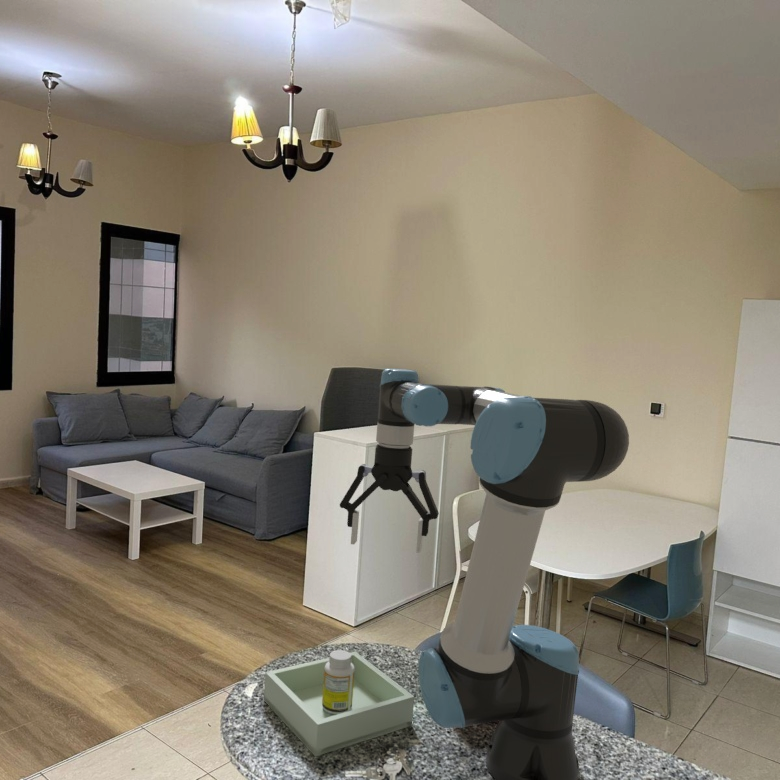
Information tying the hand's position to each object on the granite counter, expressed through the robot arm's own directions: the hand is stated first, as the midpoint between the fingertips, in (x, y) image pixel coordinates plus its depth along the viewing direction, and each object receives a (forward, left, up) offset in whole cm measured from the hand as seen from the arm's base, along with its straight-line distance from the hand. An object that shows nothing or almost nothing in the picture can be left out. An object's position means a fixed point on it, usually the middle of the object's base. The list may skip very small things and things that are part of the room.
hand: (386, 546), depth 146 cm
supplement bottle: (-10, +16, -26) cm, 32 cm away
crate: (-10, +16, -27) cm, 32 cm away
